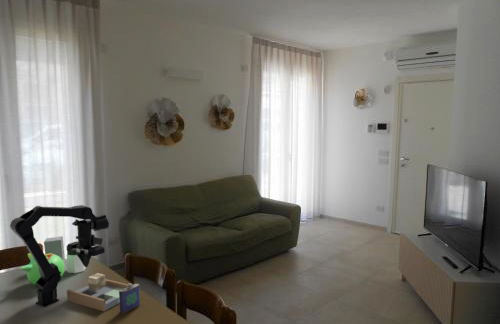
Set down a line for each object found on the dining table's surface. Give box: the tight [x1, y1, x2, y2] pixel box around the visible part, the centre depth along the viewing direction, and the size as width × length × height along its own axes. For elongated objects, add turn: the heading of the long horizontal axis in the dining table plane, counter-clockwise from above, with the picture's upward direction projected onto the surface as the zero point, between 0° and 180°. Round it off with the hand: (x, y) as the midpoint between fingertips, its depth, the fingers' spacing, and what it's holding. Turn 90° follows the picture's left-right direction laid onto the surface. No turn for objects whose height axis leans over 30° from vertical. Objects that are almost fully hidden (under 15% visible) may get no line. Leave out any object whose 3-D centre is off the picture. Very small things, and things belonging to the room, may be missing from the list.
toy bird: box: [19, 252, 65, 286], centre depth 176 cm, size 18×17×15 cm
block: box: [87, 272, 106, 290], centre depth 166 cm, size 5×5×5 cm
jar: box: [66, 248, 87, 274], centre depth 192 cm, size 9×8×12 cm
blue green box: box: [119, 282, 141, 314], centre depth 151 cm, size 9×3×11 cm, turn 144°
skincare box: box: [43, 236, 66, 266], centre depth 197 cm, size 8×7×16 cm
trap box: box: [66, 278, 129, 312], centre depth 161 cm, size 16×22×4 cm
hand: (86, 266), depth 169 cm, fingers closed
